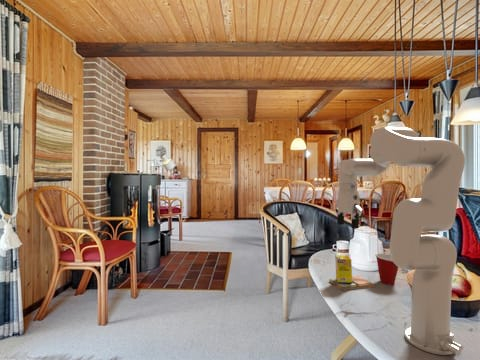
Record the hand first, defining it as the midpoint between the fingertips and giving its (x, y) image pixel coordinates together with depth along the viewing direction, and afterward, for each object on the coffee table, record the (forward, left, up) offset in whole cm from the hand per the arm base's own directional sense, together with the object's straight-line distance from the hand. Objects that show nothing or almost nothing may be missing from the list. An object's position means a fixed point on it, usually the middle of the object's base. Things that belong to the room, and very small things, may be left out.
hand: (347, 226), depth 126 cm
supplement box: (-1, +2, -24) cm, 25 cm away
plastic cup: (-3, -20, -26) cm, 33 cm away
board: (-1, -2, -26) cm, 26 cm away
